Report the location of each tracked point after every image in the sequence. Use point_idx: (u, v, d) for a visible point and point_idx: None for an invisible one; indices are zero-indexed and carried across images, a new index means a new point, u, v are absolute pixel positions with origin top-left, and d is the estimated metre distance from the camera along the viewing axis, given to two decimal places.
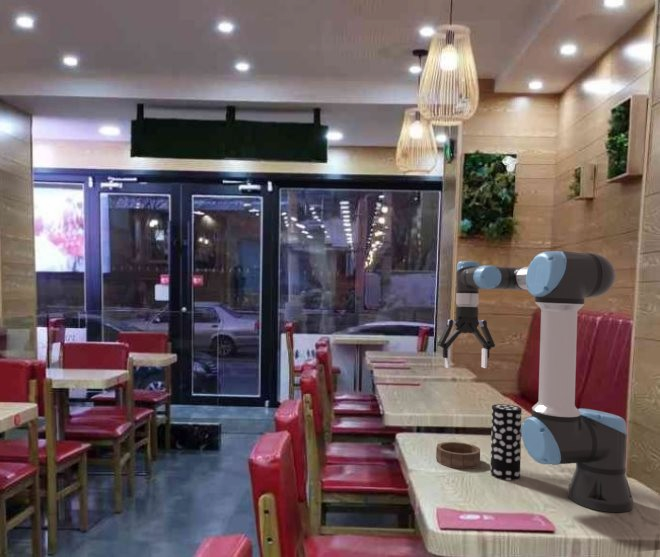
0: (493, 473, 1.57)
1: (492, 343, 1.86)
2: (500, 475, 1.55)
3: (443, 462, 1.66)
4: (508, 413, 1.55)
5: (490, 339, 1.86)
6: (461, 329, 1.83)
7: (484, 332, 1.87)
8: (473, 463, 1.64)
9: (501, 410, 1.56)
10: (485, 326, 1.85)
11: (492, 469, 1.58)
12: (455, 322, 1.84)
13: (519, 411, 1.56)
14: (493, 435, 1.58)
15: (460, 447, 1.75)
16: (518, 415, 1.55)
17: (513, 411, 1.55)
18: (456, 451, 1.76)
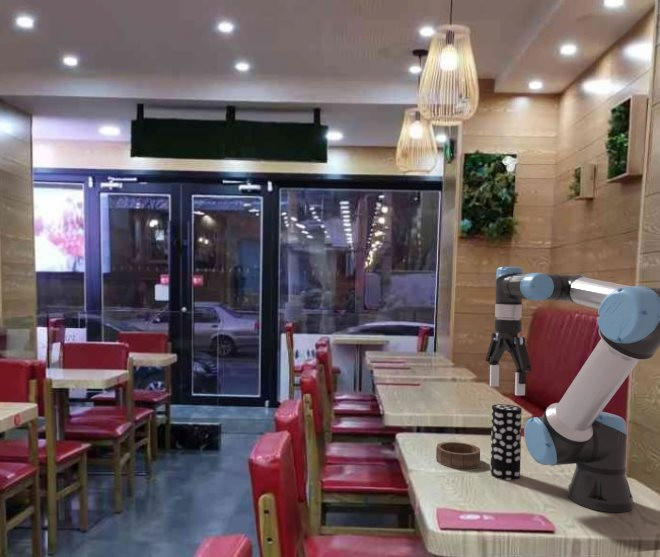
0: (493, 473, 1.57)
1: (521, 366, 1.50)
2: (500, 475, 1.55)
3: (443, 462, 1.66)
4: (508, 413, 1.55)
5: (520, 361, 1.51)
6: (497, 344, 1.62)
7: None
8: (473, 463, 1.64)
9: (501, 410, 1.56)
10: (516, 344, 1.53)
11: (492, 469, 1.58)
12: (497, 336, 1.64)
13: (519, 411, 1.56)
14: (493, 435, 1.58)
15: (460, 447, 1.75)
16: (518, 415, 1.56)
17: (513, 411, 1.55)
18: (456, 451, 1.76)
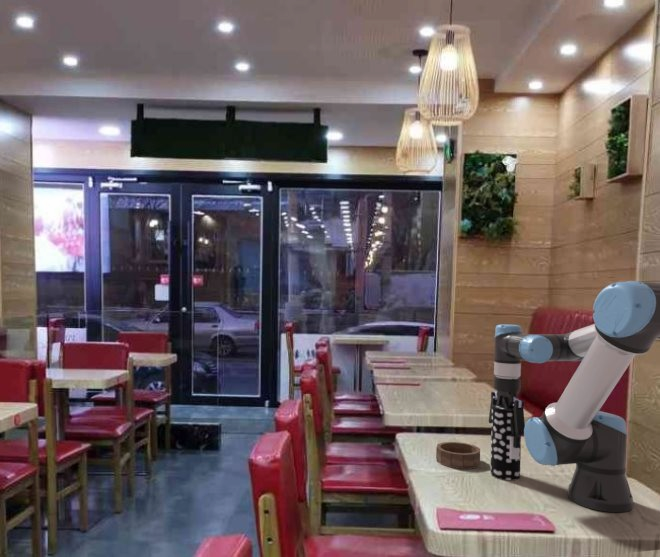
0: (493, 473, 1.57)
1: (516, 431, 1.52)
2: (500, 475, 1.55)
3: (443, 462, 1.66)
4: (508, 413, 1.55)
5: (515, 425, 1.52)
6: (497, 403, 1.61)
7: None
8: (473, 463, 1.64)
9: (501, 410, 1.56)
10: (514, 407, 1.53)
11: (492, 469, 1.58)
12: (497, 394, 1.63)
13: None
14: (493, 435, 1.58)
15: (460, 447, 1.75)
16: None
17: (513, 411, 1.55)
18: (456, 451, 1.76)
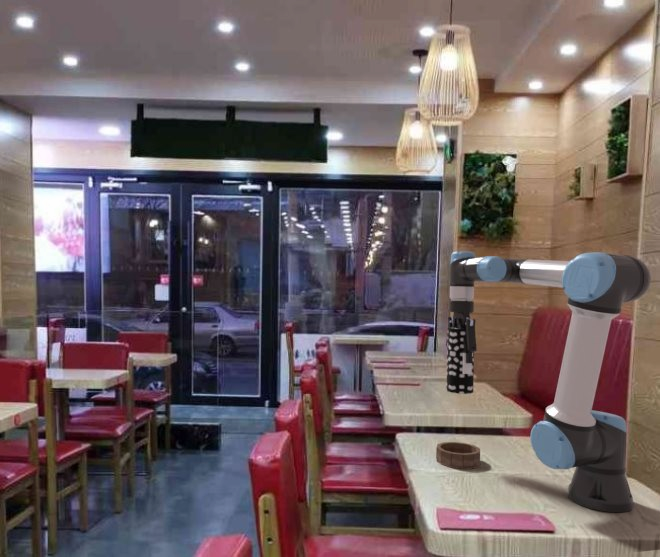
0: (448, 388, 1.69)
1: (468, 346, 1.64)
2: (454, 389, 1.67)
3: (443, 462, 1.66)
4: (462, 331, 1.67)
5: (467, 341, 1.64)
6: (452, 325, 1.73)
7: None
8: (473, 463, 1.64)
9: (455, 329, 1.68)
10: (466, 325, 1.65)
11: (447, 385, 1.70)
12: (453, 318, 1.75)
13: None
14: (448, 353, 1.70)
15: (460, 447, 1.75)
16: None
17: None
18: (456, 451, 1.76)
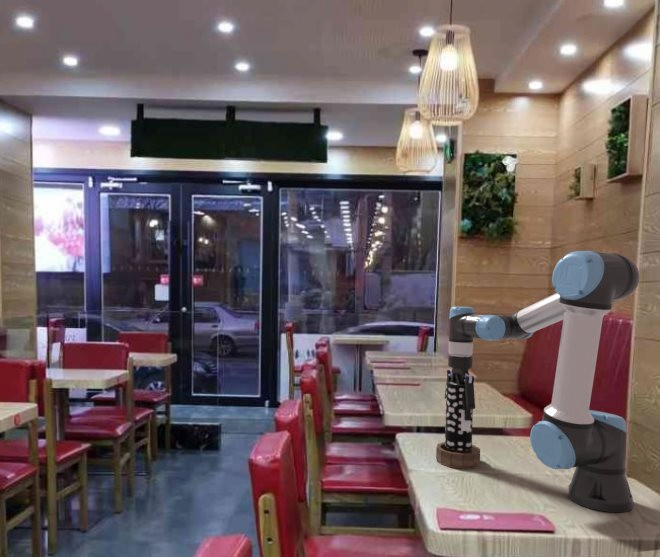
0: (447, 444, 1.69)
1: (466, 404, 1.63)
2: (453, 446, 1.67)
3: (443, 462, 1.66)
4: (460, 388, 1.67)
5: (466, 399, 1.64)
6: (451, 380, 1.72)
7: None
8: (473, 463, 1.64)
9: (454, 385, 1.67)
10: (465, 382, 1.65)
11: (446, 441, 1.70)
12: (452, 372, 1.75)
13: None
14: (447, 409, 1.70)
15: None
16: None
17: None
18: (456, 451, 1.76)
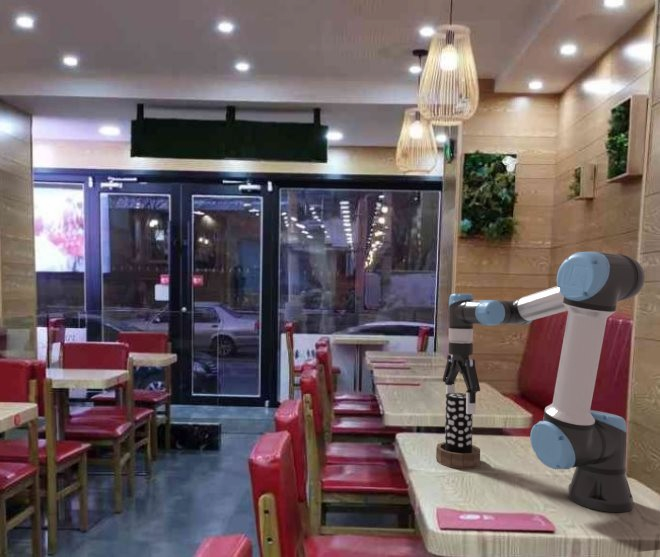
0: None
1: (471, 387, 1.61)
2: None
3: (443, 462, 1.66)
4: (460, 400, 1.66)
5: (470, 382, 1.62)
6: (451, 366, 1.73)
7: None
8: (473, 463, 1.64)
9: (453, 398, 1.67)
10: (467, 366, 1.64)
11: None
12: None
13: None
14: (446, 421, 1.69)
15: None
16: None
17: (464, 399, 1.66)
18: None
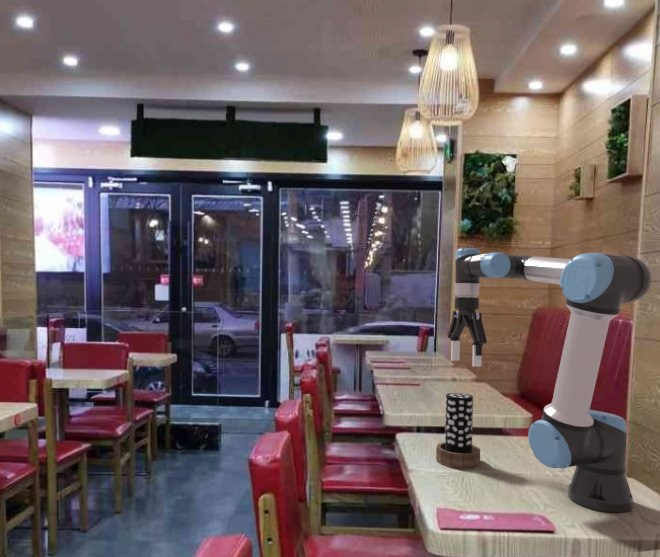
0: None
1: (477, 339, 1.62)
2: None
3: (443, 462, 1.66)
4: (460, 400, 1.67)
5: (476, 334, 1.63)
6: (457, 321, 1.74)
7: None
8: (473, 463, 1.64)
9: (453, 398, 1.67)
10: (473, 319, 1.65)
11: None
12: (458, 314, 1.76)
13: (470, 399, 1.68)
14: (447, 421, 1.69)
15: None
16: (469, 402, 1.67)
17: (464, 399, 1.67)
18: None
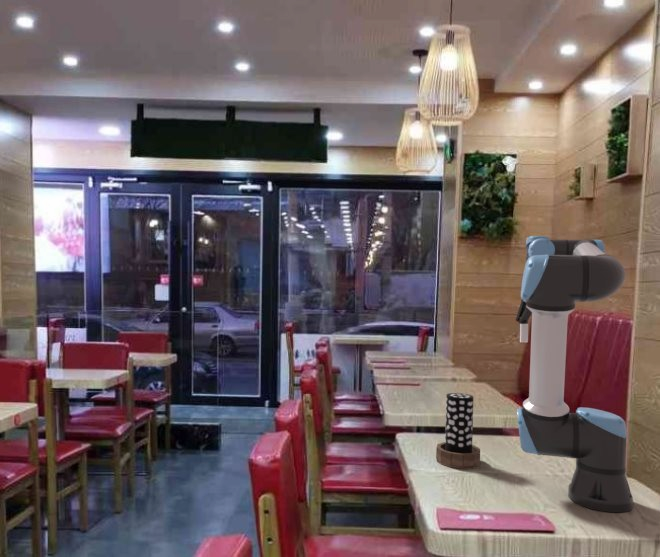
0: None
1: None
2: None
3: (443, 462, 1.66)
4: (461, 400, 1.66)
5: None
6: None
7: None
8: (473, 463, 1.64)
9: (454, 398, 1.67)
10: None
11: None
12: None
13: (471, 399, 1.68)
14: (447, 421, 1.69)
15: None
16: (470, 403, 1.67)
17: (465, 399, 1.67)
18: None
